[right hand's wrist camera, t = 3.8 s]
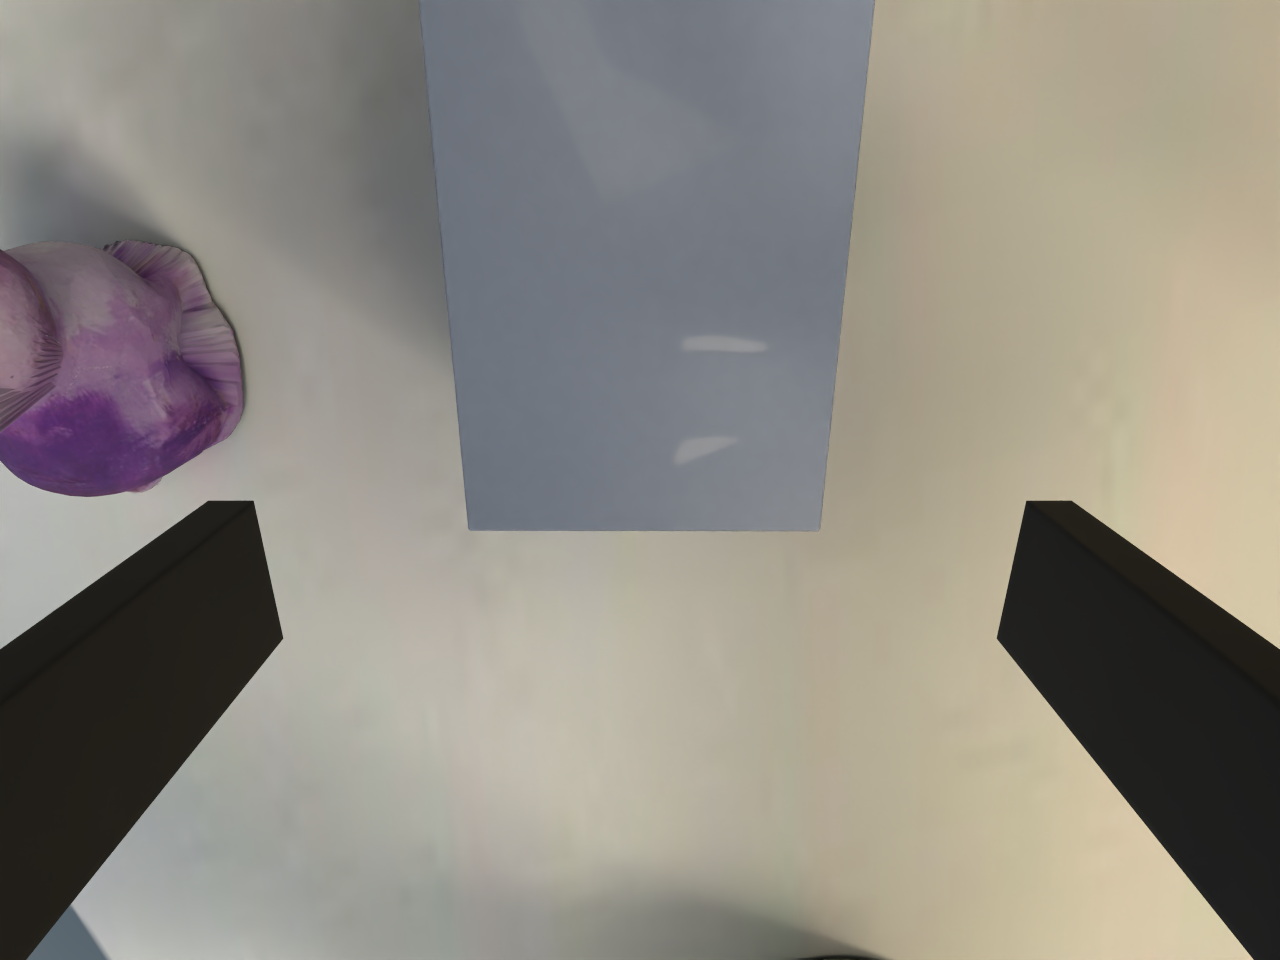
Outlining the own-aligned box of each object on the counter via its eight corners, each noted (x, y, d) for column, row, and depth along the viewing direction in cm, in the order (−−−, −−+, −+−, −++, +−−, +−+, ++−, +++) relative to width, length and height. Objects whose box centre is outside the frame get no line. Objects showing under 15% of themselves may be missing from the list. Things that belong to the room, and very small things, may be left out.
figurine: (128, 172, 29) (-343, 152, 15) (308, 376, 32) (55, 516, 18) (-19, 308, 31) (-554, 401, 17) (164, 488, 34) (-164, 691, 20)
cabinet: (495, 10, 27) (407, -102, 17) (792, 11, 27) (886, -101, 17) (521, 427, 33) (467, 531, 23) (764, 427, 33) (820, 532, 23)
